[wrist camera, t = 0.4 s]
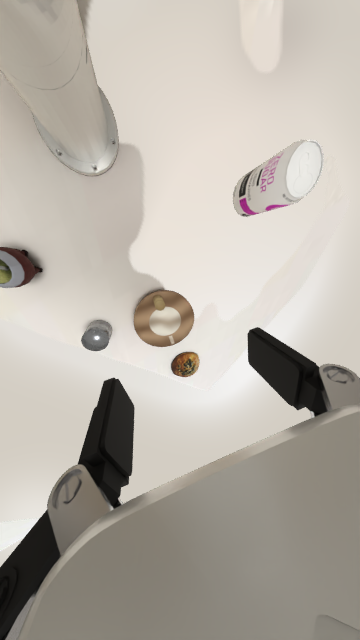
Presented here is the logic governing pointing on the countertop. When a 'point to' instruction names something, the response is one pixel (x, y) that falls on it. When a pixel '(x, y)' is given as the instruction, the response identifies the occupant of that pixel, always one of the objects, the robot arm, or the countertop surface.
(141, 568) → the robot arm
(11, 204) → the countertop surface
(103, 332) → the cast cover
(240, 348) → the countertop surface
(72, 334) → the countertop surface
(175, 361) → the bread roll
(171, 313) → the turntable
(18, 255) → the mate gourd
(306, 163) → the supplement can
